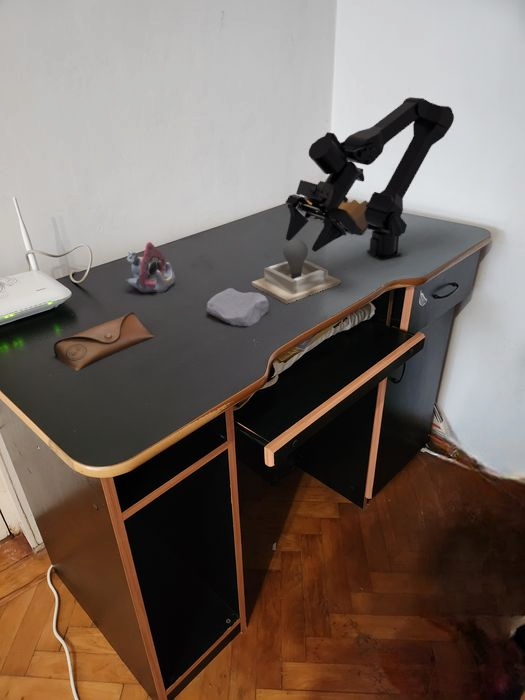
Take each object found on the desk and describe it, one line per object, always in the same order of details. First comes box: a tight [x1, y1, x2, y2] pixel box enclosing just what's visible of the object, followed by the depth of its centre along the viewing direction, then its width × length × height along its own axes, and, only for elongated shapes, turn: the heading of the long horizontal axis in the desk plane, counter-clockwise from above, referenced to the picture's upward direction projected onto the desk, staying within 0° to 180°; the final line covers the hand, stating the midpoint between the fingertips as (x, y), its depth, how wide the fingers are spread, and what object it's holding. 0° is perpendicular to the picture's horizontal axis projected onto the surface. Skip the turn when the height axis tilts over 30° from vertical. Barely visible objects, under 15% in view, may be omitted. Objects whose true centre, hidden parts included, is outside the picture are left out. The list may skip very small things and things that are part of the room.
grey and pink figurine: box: [125, 241, 176, 293], centre depth 126 cm, size 11×11×12 cm
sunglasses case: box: [53, 311, 156, 371], centre depth 104 cm, size 18×7×7 cm
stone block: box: [205, 287, 270, 327], centre depth 113 cm, size 12×5×10 cm
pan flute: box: [306, 199, 369, 236], centre depth 166 cm, size 25×3×25 cm
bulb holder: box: [251, 259, 341, 305], centre depth 124 cm, size 16×13×4 cm
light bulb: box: [282, 238, 309, 279], centre depth 122 cm, size 6×6×10 cm
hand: (299, 245), depth 121 cm, fingers open, 9 cm apart
